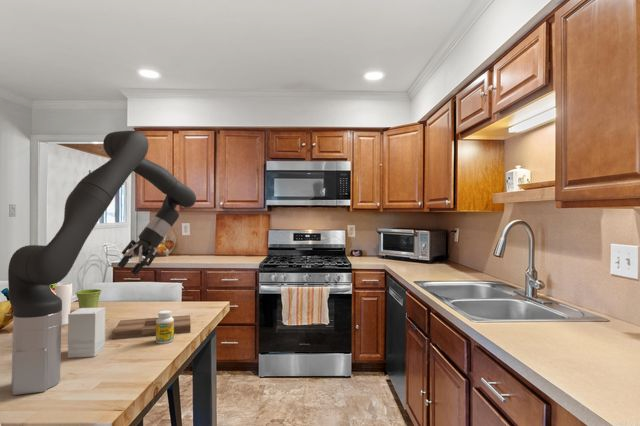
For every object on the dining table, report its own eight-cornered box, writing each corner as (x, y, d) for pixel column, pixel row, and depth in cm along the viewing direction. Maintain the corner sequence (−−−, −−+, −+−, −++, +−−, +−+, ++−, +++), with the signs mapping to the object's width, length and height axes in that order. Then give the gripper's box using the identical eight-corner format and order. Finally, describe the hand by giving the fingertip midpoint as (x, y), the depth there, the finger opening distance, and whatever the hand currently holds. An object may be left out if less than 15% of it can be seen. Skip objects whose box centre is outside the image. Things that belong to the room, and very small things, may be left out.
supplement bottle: (171, 337, 122) (172, 308, 123) (175, 342, 118) (175, 312, 118) (154, 340, 120) (154, 311, 120) (157, 345, 115) (157, 314, 115)
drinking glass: (45, 328, 131) (46, 286, 131) (54, 322, 137) (55, 282, 138) (67, 326, 133) (68, 285, 133) (74, 321, 139) (75, 282, 139)
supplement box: (105, 348, 112) (106, 306, 112) (94, 357, 105) (95, 313, 105) (79, 349, 111) (80, 307, 111) (66, 358, 104) (67, 313, 104)
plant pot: (76, 316, 147) (76, 294, 147) (73, 311, 154) (74, 290, 154) (103, 312, 153) (103, 291, 153) (99, 308, 160) (99, 288, 160)
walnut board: (190, 332, 128) (190, 325, 128) (112, 339, 120) (113, 331, 120) (189, 321, 141) (190, 315, 141) (120, 327, 133) (120, 320, 133)
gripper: (136, 222, 134) (107, 260, 127) (160, 230, 126) (129, 271, 120) (151, 233, 139) (123, 270, 133) (174, 241, 132) (145, 281, 125)
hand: (126, 270), depth 126 cm, fingers open, 8 cm apart
